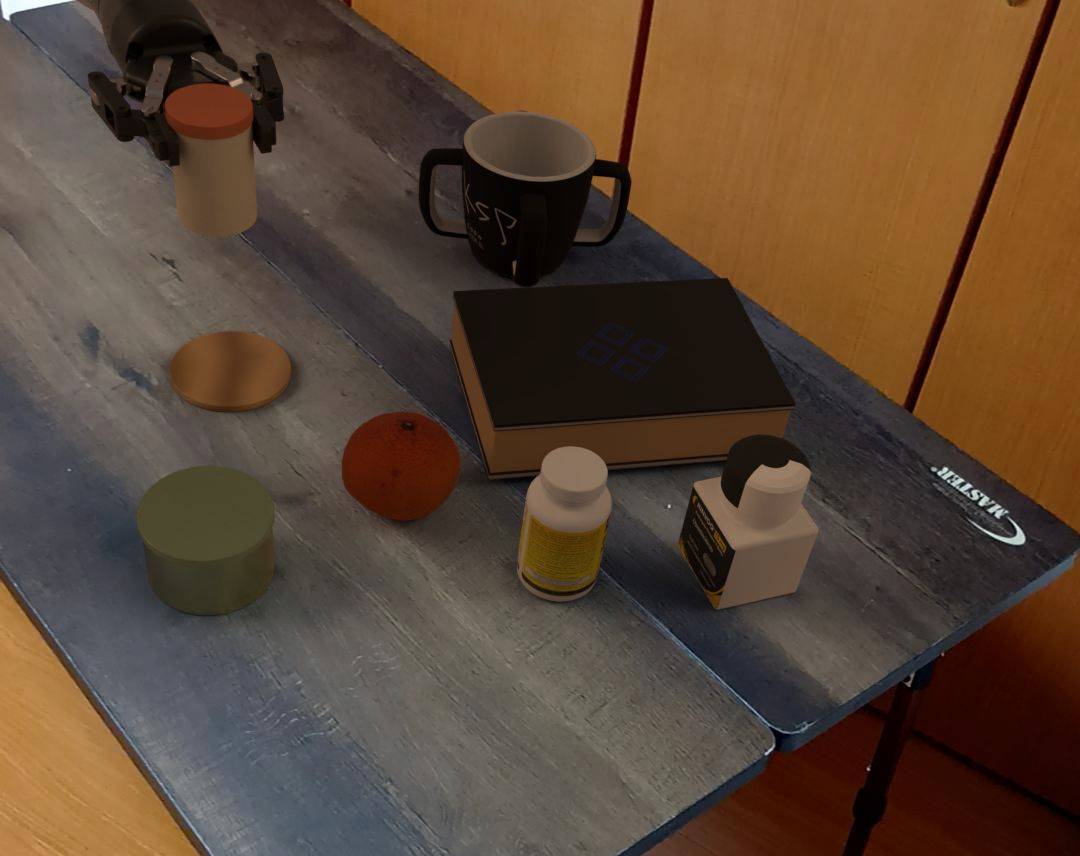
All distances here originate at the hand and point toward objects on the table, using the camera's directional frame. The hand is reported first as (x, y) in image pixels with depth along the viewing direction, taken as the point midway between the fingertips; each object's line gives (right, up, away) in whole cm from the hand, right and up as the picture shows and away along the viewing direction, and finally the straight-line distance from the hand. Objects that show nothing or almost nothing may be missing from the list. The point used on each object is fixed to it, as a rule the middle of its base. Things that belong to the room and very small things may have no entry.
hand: (221, 147), depth 93 cm
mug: (+20, 0, +36) cm, 41 cm away
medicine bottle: (+38, -30, +10) cm, 49 cm away
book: (+28, -16, +22) cm, 39 cm away
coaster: (-4, -13, +19) cm, 24 cm away
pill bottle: (+24, -30, +7) cm, 39 cm away
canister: (-2, -3, +6) cm, 7 cm away
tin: (-2, -30, +4) cm, 30 cm away
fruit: (+11, -24, +11) cm, 29 cm away
